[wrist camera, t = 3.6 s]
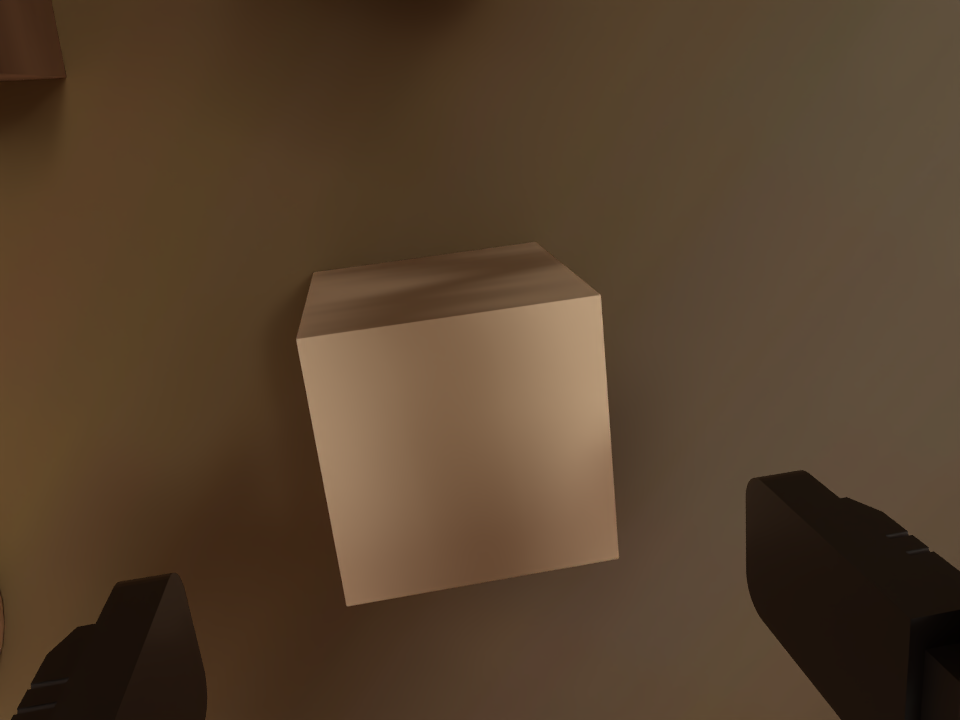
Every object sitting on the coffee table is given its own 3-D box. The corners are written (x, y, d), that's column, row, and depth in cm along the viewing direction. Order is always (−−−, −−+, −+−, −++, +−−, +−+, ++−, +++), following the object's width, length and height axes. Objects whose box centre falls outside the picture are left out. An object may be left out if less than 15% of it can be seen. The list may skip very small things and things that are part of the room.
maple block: (535, 241, 21) (600, 294, 15) (553, 442, 23) (619, 558, 17) (313, 271, 20) (296, 339, 15) (349, 475, 22) (347, 606, 16)
